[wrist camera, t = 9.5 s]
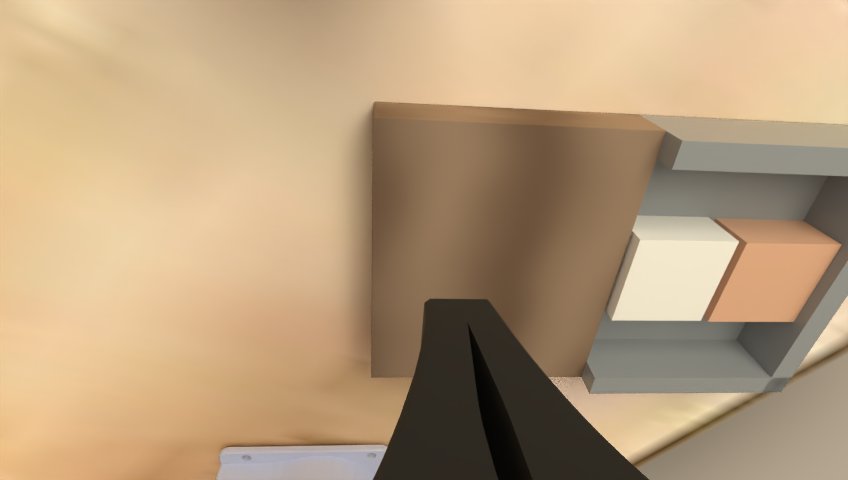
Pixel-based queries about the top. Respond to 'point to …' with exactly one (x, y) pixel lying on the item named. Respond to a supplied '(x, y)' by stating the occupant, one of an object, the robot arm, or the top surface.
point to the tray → (733, 199)
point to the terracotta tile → (770, 270)
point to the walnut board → (502, 222)
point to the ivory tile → (670, 269)
